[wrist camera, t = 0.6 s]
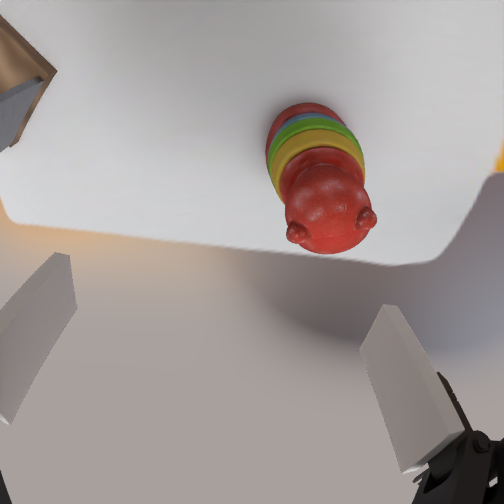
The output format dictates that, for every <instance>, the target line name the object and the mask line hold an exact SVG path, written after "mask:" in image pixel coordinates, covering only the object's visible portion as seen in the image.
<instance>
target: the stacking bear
mask: <svg viewBox="0 0 504 504" xmlns="http://www.w3.org/2000/svg"><path fill="white" fill-rule="evenodd" d="M266 164H267V169H268V172H269V175H270V178H271V181H272V183H273V186H274V188H275V190H276V192H277V194H278V196H279V198H280V199H281V201H282V202H283V203H284V204H285V218H286V222H287V225H288V228H287V232H286V237H287V239H288V241H290V242H292V243H295V244H299V245H300V246H301V247H303V248H304V249H306V250H308V251H311V252H314V253H318V254H335V253H340V252H344V251H347V250H349V249H351V248H353V247H355V246H356V245H357V244H359V243H360V242H361V241H362V240H363V239H364V238H365V237H366V236H367V234H368V232H369V230H370V229H371V228H373V227H374V226H375V224H376V223H377V217H376V214H375V213H374V212H373V211H372V207H371V203H370V199H369V196H368V194H367V192H366V190H365V189H364V182H365V168H364V158H363V153H362V150H361V147H360V145H359V143H358V141H357V139H356V138H355V136H354V135H353V133H352V132H351V131H350V130H349V129H348V128H347V127H346V125H345V124H344V122H343V121H342V120H341V119H340V118H339V116H338V115H337V114H336V113H334V112H333V111H332V110H330V109H329V108H327V107H325V106H322V105H319V104H314V103H303V104H298V105H295V106H292V107H290V108H288V109H286V110H285V111H284V112H282V113H281V114H280V115H279V116H278V117H277V119H276V120H275V121H274V123H273V125H272V127H271V130H270V132H269V135H268V139H267V144H266Z"/></svg>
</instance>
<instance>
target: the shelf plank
mask: <svg viewBox="0 0 504 504" xmlns="http://www.w3.org/2000/svg"><path fill="white" fill-rule="evenodd" d="M56 72H57V70H56V69H55V68H54V67H53V66H52V65H51V64H50V63H49V62H48V61H47V60H46V59H45V58H43V57H42V56H41V55H40V54H39V53H38V52H37V51H36V50H35V49H34V48H33V47H32V46H31V45H30V44H29V43H28V42H27V41H26V40H25V39H24V38H23V37H22V36H21V35H20V34H19V33H18V32H17V31H16V30H15V29H14V28H13V27H12V26H11V25H10V24H9V23H8V22H7V21H6V20H5V19H4V18H3V17H2V16H1V15H0V94H1V93H3V92H5V91H7V90H9V89H11V88H13V87H15V86H17V85H19V84H21V83H24V82H26V81H28V80H30V79H32V78H35V77H37V76H40V77H41V78H42V79H43V80H44V82H43V84H42V86H41V88H40V89H39V91H38V93H37V95H36V96H35V98H34V100H33V102H32V104H31V105H30V107H29V109H28V111H27V113H26V115H25V117H24V119H23V121H22V123H21V125H20V127H19V129H18V132H17V134H16V136H15V138H14V140H13V143H12V144H11V145H9V147H10V148H11V147H12V146H13V145H14V144H16V143H17V142H18V141H19V139H20V137H21V134H22V132H23V130H24V128H25V126H26V124H27V122H28V120H29V118H30V116H31V115H32V113H33V111H34V109H35V107H36V105H37V104H38V102H39V100H40V98H41V97H42V95H43V93H44V91H45V90H46V88H47V86H48V85H49V83H50V82H51V80H52V78H53V77H54V75H55V74H56Z"/></svg>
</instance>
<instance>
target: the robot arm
mask: <svg viewBox="0 0 504 504" xmlns="http://www.w3.org/2000/svg"><path fill="white" fill-rule="evenodd" d="M76 310H77V304H76V298H75V292H74V286H73V279H72V272H71V264H70V256H69V255H66V254H61V253H56V252H55V253H54V254H53V255H52V256H51V257H50V258H49V259H48V260H47V261H46V262H45V263H44V264H43V265H42V266H41V267H40V268H39V269H38V270H37V271H36V272H35V273H34V274H33V275H32V276H31V277H30V278H29V279H28V280H27V281H26V282H25V283H24V284H23V285H22V286H21V288H19V290H18V291H17V292H16V293H15V294H14V295H13V296H12V297H11V299H10V300H9V301H8V302H7V303H6V304H5V305H4V306H3V307H2V309H1V310H0V420H1V421H3V422H5V423H7V424H8V425H11V424H12V422H13V420H14V417H15V415H16V413H17V411H18V409H19V407H20V405H21V403H22V401H23V399H24V397H25V395H26V394H27V392H28V390H29V388H30V386H31V384H32V382H33V381H34V379H35V376H36V375H37V373H38V372H39V370H40V368H41V366H42V364H43V363H44V361H45V359H46V358H47V356H48V354H49V353H50V351H51V349H52V348H53V346H54V344H55V343H56V341H57V339H58V338H59V336H60V335H61V333H62V331H63V330H64V328H65V327H66V325H67V323H68V322H69V321H70V319H71V317H72V316H73V314H74V313H75V311H76ZM359 352H360V354H361V357H362V360H363V362H364V364H365V368H366V370H367V373H368V376H369V378H370V381H371V384H372V386H373V389H374V392H375V395H376V397H377V400H378V403H379V406H380V409H381V412H382V414H383V417H384V421H385V423H386V426H387V429H388V432H389V435H390V438H391V442H392V445H393V448H394V451H395V454H396V457H397V461H398V464H399V467H400V471H401V474H403V473H408V472H411V471H415V470H418V469H419V468H421V467H422V466H423V465H425V464H426V463H427V462H428V465H429V468H428V469H427V470H425V471H424V472H423V473H421V474H420V475H418V476H417V477H416V478H415V479H414V480H413V482H414V483H415V482H416V481H418V480H419V479H421V478H422V477H423V478H422V480H421V481H420V482H419V483H418V485H419V488H418V490H417V493H416V495H415V498H414V500H413V502H412V504H504V438H503V439H502V440H501V441H491V440H490V439H489V438H488V436H487V435H486V434H484V433H483V432H481V431H478V430H477V431H473V430H472V428H471V426H470V424H469V422H468V420H467V418H466V416H465V414H464V412H463V410H462V408H461V406H460V404H459V402H458V401H457V398H456V396H455V394H454V393H453V390H452V388H451V387H450V385H449V383H448V381H447V380H446V379H445V378H444V377H443V376H442V375H441V374H440V373H439V372H436V371H435V369H434V368H433V366H432V364H431V363H430V360H429V359H428V357H427V355H426V353H425V352H424V350H423V348H422V346H421V345H420V343H419V341H418V340H417V338H416V336H415V334H414V333H413V331H412V329H411V328H410V326H409V325H408V323H407V321H406V320H405V318H404V316H403V315H402V313H401V312H400V310H399V308H398V307H397V306H394V305H385V304H383V305H382V307H381V309H380V311H379V313H378V315H377V317H376V320H375V321H374V323H373V325H372V327H371V329H370V331H369V333H368V335H367V336H366V338H365V340H364V342H363V344H362V346H361V348H360V349H359ZM496 477H498V478H497V479H498V480H497V481H498V483H497V484H495V485H494V486H492V487H490V486H489V482H490V481H491V480H493V479H494V478H496ZM0 504H12V502H11V500H10V497H9V494H8V492H7V489H6V486H5V483H4V480H3V477H2V474H1V471H0Z"/></svg>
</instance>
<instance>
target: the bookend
mask: <svg viewBox="0 0 504 504" xmlns="http://www.w3.org/2000/svg"><path fill="white" fill-rule="evenodd" d="M43 82H44V80H43V79H42V78H41V77H40V76H37V77H35V78H32V79H30V80H28V81H26V82H24V83H21V84H19V85H17V86H15V87H13V88H11V89H9V90H7V91H5V92H3V93H1V94H0V152H2V151H3V150H4V149H5V148H7V147H8V146H9V145H11V144H12V143H13V140H14V138H15V136H16V134H17V132H18V129H19V127H20V125H21V123H22V121H23V119H24V117H25V115H26V113H27V111H28V109H29V107H30V105H31V104H32V102H33V100H34V98H35V96H36V95H37V93H38V91H39V89H40V88H41V86H42V84H43Z"/></svg>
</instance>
